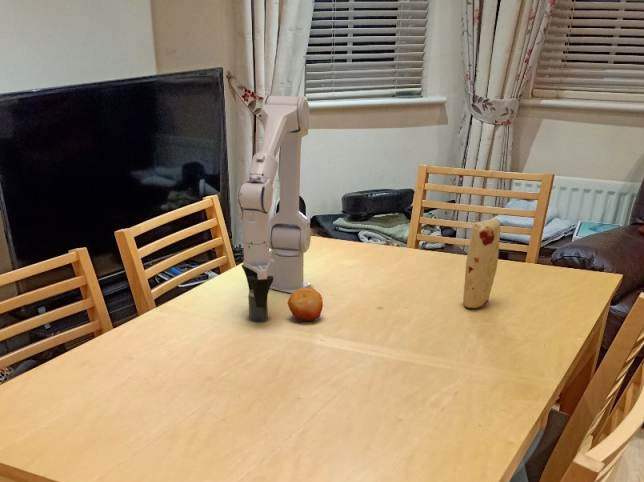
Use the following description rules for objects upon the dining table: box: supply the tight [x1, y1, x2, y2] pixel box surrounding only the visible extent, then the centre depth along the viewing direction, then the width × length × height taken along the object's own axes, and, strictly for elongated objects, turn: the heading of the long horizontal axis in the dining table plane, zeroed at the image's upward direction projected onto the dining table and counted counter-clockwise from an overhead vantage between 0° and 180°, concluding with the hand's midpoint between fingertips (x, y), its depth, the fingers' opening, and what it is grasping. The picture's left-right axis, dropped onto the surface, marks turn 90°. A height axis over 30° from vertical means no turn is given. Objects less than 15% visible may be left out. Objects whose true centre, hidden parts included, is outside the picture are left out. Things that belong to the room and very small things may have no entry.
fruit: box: [287, 286, 324, 322], centre depth 176 cm, size 8×8×8 cm
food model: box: [462, 218, 501, 309], centre depth 178 cm, size 10×7×20 cm
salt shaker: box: [247, 289, 269, 323], centre depth 176 cm, size 4×4×6 cm
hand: (258, 301), depth 175 cm, fingers open, 7 cm apart
